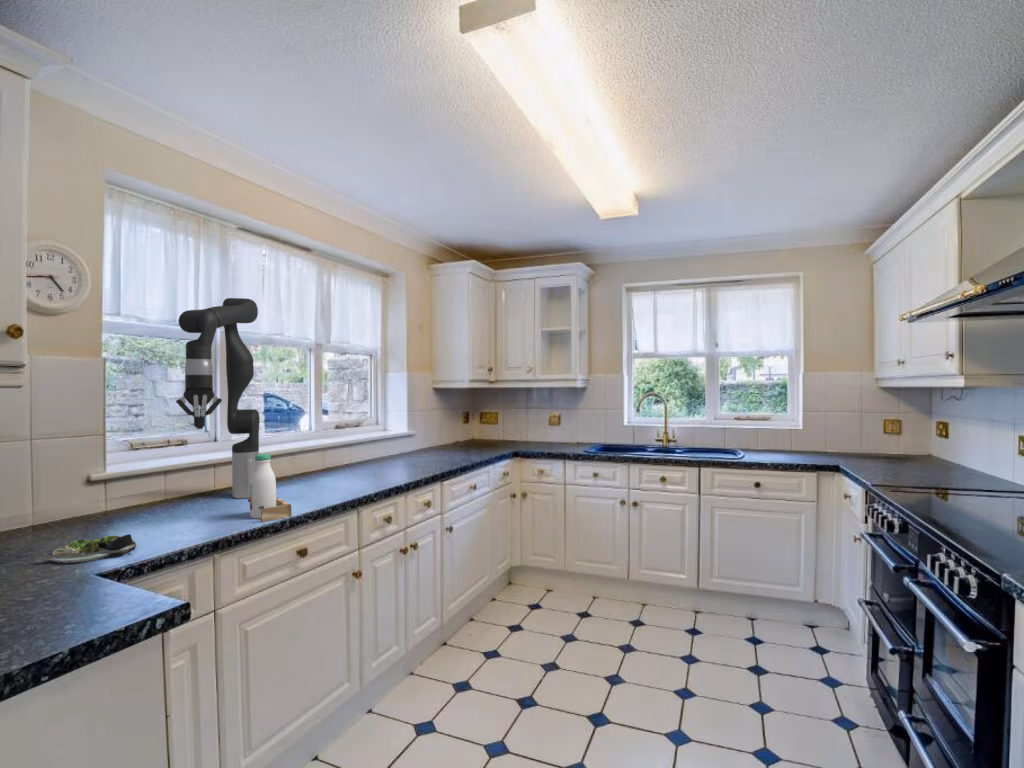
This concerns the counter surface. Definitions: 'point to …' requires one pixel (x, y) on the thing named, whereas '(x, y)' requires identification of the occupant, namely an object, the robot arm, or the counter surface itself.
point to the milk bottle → (262, 486)
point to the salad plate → (92, 549)
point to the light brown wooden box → (275, 511)
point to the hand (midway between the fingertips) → (199, 428)
